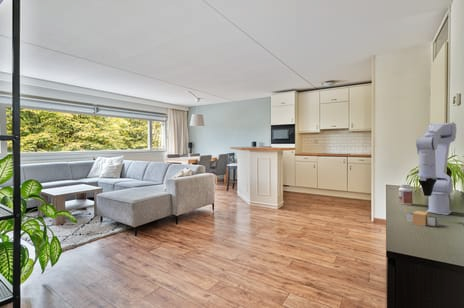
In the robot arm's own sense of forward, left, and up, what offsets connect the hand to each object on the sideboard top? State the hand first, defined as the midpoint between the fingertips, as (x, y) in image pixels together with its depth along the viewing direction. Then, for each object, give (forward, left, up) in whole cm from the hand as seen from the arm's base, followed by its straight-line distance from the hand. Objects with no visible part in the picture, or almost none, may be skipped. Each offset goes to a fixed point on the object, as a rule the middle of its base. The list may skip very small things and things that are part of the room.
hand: (427, 195), depth 105 cm
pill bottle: (-26, -16, -10) cm, 32 cm away
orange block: (+11, 0, -10) cm, 15 cm away
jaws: (+9, 0, -10) cm, 13 cm away
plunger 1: (+10, -3, -10) cm, 14 cm away
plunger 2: (+10, +3, -10) cm, 14 cm away
